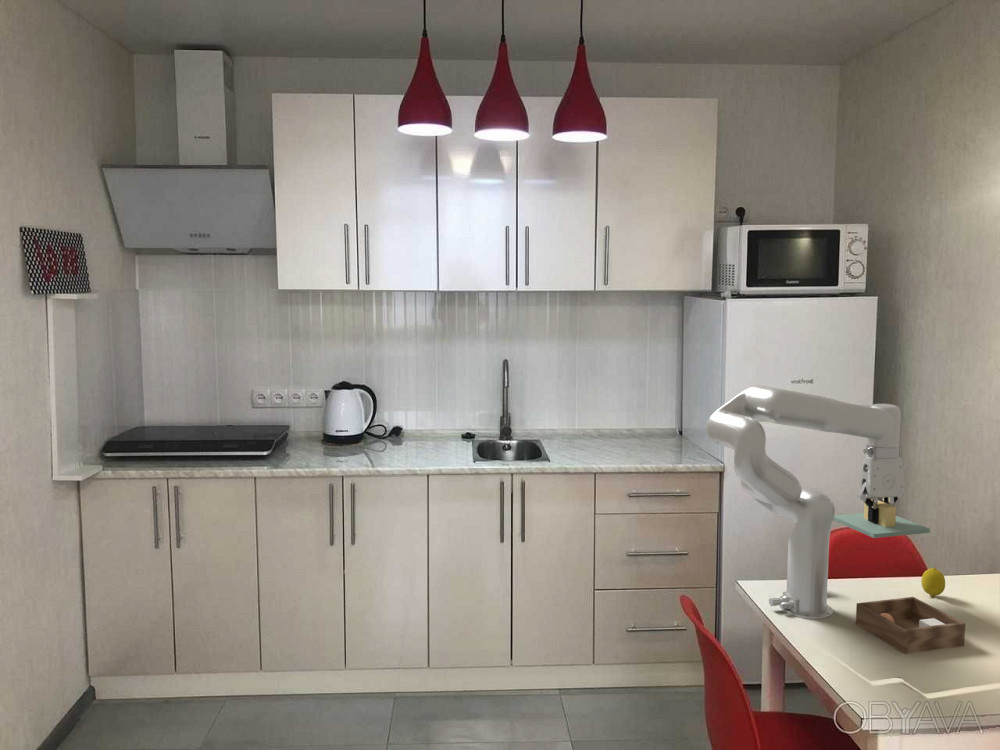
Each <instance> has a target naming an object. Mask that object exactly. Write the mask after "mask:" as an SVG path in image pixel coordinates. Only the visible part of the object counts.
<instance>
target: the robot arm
mask: <svg viewBox="0 0 1000 750" xmlns="http://www.w3.org/2000/svg"><path fill="white" fill-rule="evenodd" d="M901 415H902V413H901V409H900V407H899V406H898V405H896V404H891V403H874V404H871V405H870V404H868V405H866V404H856V403H849V402H845V401H841V400H839V399H834V398H831V397H826V396H823V395H822V396H821V395H815V394H811V393H804V392H799V391H796V390H795V391H793V390H787V389H782V388H776V387H771V386H766V385H761V384H760V385H759V384H757V385H753V386H751V387H748V388H746V389H744V390H743V391H741V392H740V393H738V394H737V395H736V396H734V397H732V398H731V399H730V400H728V402H725V404H723V405H722V406H721V407H719V408H718V409H716V410H715V411H714V412H713V413H712V414H711V416H709V418H708V420H707V422H706V430H705V431H706V434H707V436H708V438H709V439H710V440H711V441H712V442H713V443H715V444H717V445H719V446H723V447H725V448H729V449H732V450H734V456H733V465H734V466H733V467H734V472H735V476H737V477H738V479H740V484H741V488H742V490H743V491H744V492H745V494H746V495H747V496H748V497H750V498H751V499H752V500H753V501H756V503H758V504H760V505H761V506H762V507H764V508H765V509H767V510H768V511H770V512H772V513H773V514H775V515H776V516H779V517H781V518H782V519H785V520H788V521H790V522H792V523H794V524H795V525H794V527H793V529H792V531H791V533H790V536H789V537H788V542H787V569H786V570H787V571H786V573H787V575H786V591H782V595H781V596H779V597H773V598H772V597H771V598H769V599H768V604H769V606H770V607H777V606H779V608H780V609H781V611H783V612H784V613H786V614H787V615H791V616H793V617H797V618H799V619H800V618H801V619H806V620H807V619H808V620H823V619H827V618H829V617H831V616H833V615H834V611H833V608H832V606H830V605H829V604H827V603H828V601H827V600H828V577H829V556H830V555H829V551H830V550H829V549H830V548H829V547H830V539H831V537H830V536H831V530H832V526H833V523H834V515H835V513H836V509H835V505H834V503H833V500H832V499H831V498H830V497H829V496H828V495H826V493H824V492H822V491H819V490H817V489H816V488H815V489H814V488H811V487H808V486H805V485H802V484H801V482H800V481H799V480H798V478H797V477H796V476H795V474H793V473H792V472H791V471H789V470H787V469H786V468H784V467H783V466H782V465H780V464H778V462H776V461H775V460H773V459H771V458H770V457H769V456H768V455H767V453H766V443H767V442H766V441H767V440H766V439H767V437H766V436H767V435H766V431H765V428H764V426H763V425H762V424H761V423H760V422H759V421H758V420H760V421H764V422H767V423H772V424H776V425H782V426H789V427H795V428H796V427H797V428H801V429H807V430H813V431H819V432H824V433H825V432H826V433H834V434H842V435H849V436H853V437H854V436H855V437H860V438H866V448H863V449H862V450H863V454H864V455H865V456H863V457H864V458H863V460H862V466H861V470H860V478H859V491H858V493H857V495H856V498H857V499H859V500H861V501H862V502H863V504H864V503H865V504H866V506H868V521H869V522H872V523H874V524H878V516H879V509H877V504H878V500H879V499H881V498H882V502H884V503H887V504H890V505H892V506H895V503H896V502H897V501H898V500H900V498H902V497H903V496H904V491H905V479H904V478H905V475H904V466H903V460H902V457H899V456H900V455H899V454H900V436H901V435H900V432H901V417H902V416H901ZM872 499H873V501H872Z"/></svg>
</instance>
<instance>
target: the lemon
mask: <svg viewBox="0 0 1000 750" xmlns="http://www.w3.org/2000/svg"><path fill="white" fill-rule="evenodd" d="M920 582H921V587H922V589H923V591H924V592H925V593H926V594H928V595H929V596H930V597H931V598H935V597H936V596H939V595H941V594H943V592H944V591H945V588H946V578H945V575H944V574H943V573H942V571H940V569H937V568H935V567H932V568H928V569H927V570H925V571H924V572H923V574H922V576H921V581H920Z"/></svg>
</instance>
